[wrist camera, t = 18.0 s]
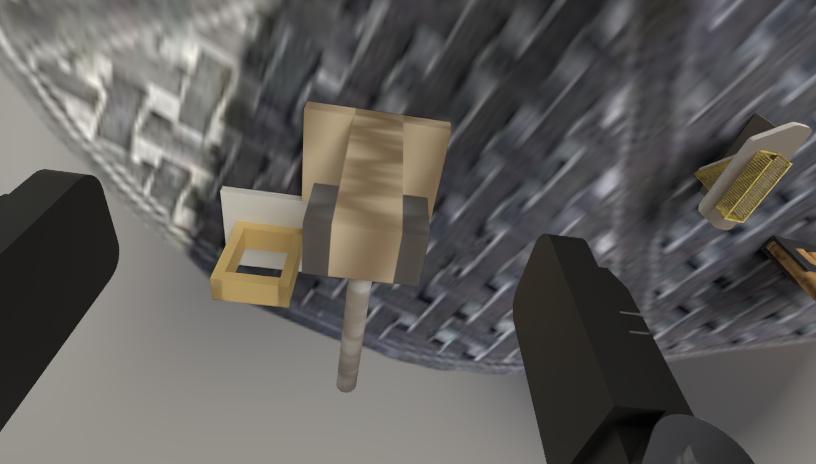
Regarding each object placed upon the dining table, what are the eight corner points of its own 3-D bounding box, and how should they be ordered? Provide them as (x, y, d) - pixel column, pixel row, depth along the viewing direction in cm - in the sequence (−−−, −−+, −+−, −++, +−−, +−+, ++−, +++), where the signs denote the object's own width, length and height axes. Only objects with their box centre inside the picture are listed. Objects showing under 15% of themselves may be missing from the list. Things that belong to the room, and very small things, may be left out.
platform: (606, 216, 46) (631, 260, 41) (720, 30, 36) (773, 57, 30) (712, 238, 48) (749, 282, 43) (852, 66, 37) (923, 98, 32)
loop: (304, 229, 46) (288, 287, 39) (304, 248, 47) (288, 307, 41) (237, 220, 45) (210, 278, 39) (238, 240, 46) (212, 299, 40)
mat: (320, 198, 44) (319, 203, 44) (316, 268, 50) (315, 273, 49) (222, 186, 43) (220, 190, 43) (230, 258, 49) (227, 263, 48)
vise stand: (450, 122, 40) (470, 241, 27) (414, 275, 51) (418, 411, 38) (307, 100, 38) (258, 215, 26) (302, 263, 49) (267, 399, 37)
